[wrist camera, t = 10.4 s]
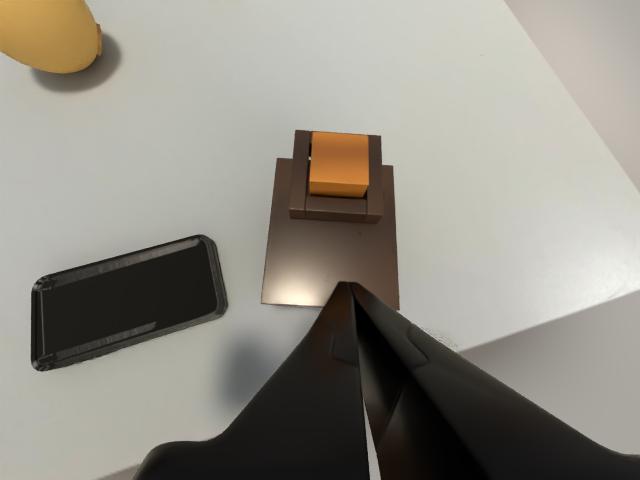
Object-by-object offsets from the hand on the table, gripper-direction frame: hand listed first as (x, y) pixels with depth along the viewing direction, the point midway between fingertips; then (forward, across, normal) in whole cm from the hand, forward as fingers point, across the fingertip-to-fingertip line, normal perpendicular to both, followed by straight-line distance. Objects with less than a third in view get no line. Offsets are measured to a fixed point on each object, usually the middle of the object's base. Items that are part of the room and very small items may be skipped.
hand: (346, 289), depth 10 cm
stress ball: (+27, -31, +10) cm, 43 cm away
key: (+11, 0, +3) cm, 11 cm away
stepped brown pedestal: (+12, 0, -5) cm, 13 cm away
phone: (+8, -17, -9) cm, 21 cm away
